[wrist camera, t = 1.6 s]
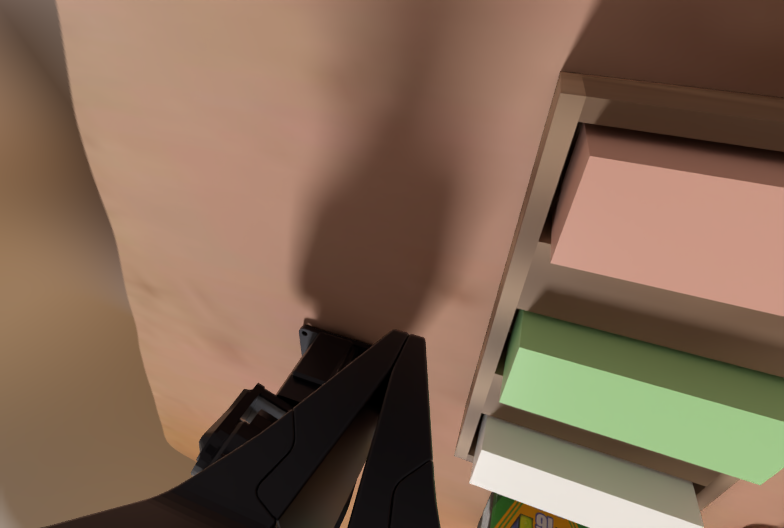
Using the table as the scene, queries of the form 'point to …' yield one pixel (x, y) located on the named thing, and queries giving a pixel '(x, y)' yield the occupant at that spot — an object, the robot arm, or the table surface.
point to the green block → (647, 395)
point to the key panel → (616, 296)
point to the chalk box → (519, 515)
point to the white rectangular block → (579, 481)
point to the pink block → (674, 215)
